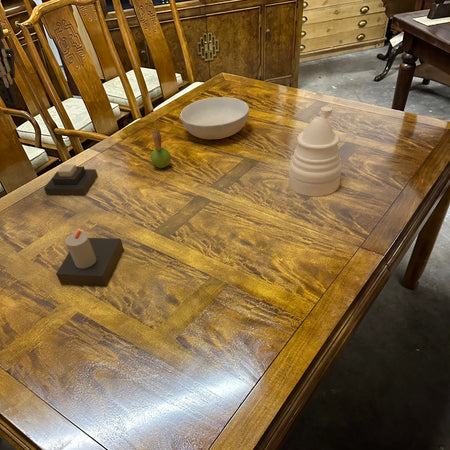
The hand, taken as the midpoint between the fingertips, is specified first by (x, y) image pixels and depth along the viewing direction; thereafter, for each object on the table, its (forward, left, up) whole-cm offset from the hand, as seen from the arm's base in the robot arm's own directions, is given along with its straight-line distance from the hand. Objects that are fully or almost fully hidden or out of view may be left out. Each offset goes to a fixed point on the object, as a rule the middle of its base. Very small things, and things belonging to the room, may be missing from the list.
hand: (12, 103), depth 94 cm
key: (+4, +5, -20) cm, 22 cm away
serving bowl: (+39, +37, -24) cm, 59 cm away
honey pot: (+69, +8, -24) cm, 73 cm away
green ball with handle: (+27, +15, -24) cm, 39 cm away
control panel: (+22, -27, -24) cm, 42 cm away
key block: (+4, +5, -24) cm, 25 cm away
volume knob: (+22, -29, -21) cm, 42 cm away
